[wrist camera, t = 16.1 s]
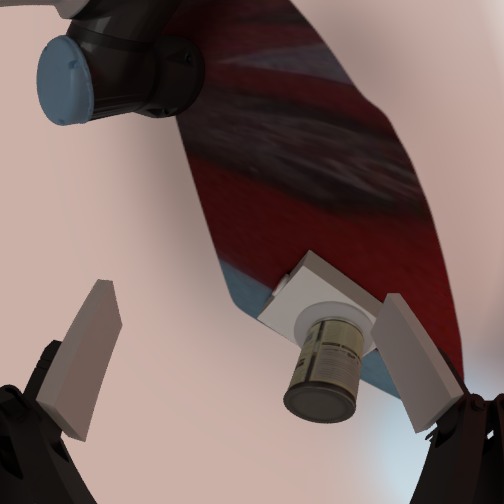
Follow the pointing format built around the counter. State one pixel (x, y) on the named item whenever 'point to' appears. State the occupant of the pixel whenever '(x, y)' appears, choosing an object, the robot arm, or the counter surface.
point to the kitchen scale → (318, 301)
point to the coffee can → (327, 372)
